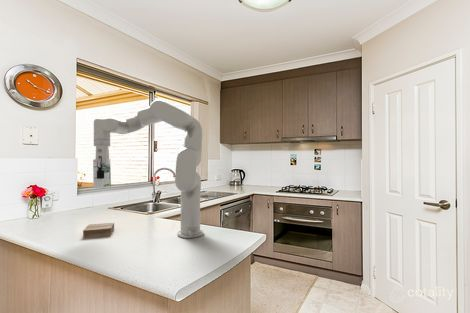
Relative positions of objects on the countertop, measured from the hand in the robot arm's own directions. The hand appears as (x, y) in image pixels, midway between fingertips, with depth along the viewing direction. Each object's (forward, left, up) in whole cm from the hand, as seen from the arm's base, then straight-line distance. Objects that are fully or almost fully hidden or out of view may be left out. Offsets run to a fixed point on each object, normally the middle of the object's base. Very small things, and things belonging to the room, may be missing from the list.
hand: (102, 177), depth 131 cm
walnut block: (-1, +1, -28) cm, 28 cm away
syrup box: (0, 0, -5) cm, 5 cm away
